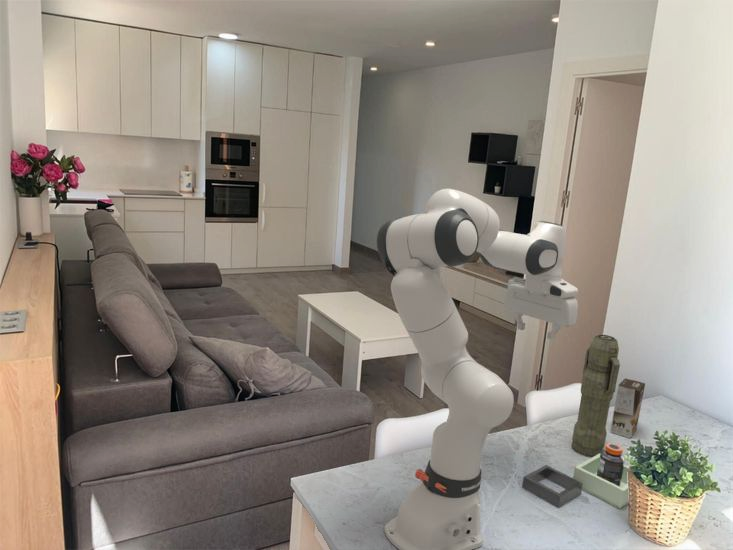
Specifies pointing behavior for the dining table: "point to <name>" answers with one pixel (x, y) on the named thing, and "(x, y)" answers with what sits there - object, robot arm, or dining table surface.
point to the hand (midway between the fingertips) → (535, 334)
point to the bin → (602, 483)
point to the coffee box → (627, 407)
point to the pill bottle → (611, 464)
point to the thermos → (596, 395)
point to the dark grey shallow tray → (548, 494)
